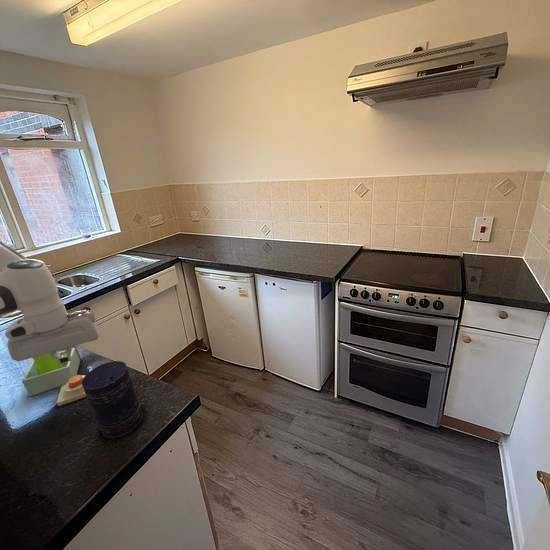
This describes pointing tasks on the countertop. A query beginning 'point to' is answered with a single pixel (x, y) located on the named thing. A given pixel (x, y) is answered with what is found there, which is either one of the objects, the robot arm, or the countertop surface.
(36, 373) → the box
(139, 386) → the countertop surface
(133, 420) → the storage jar
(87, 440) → the countertop surface
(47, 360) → the soap dispenser
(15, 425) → the countertop surface
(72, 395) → the control box
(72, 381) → the button
